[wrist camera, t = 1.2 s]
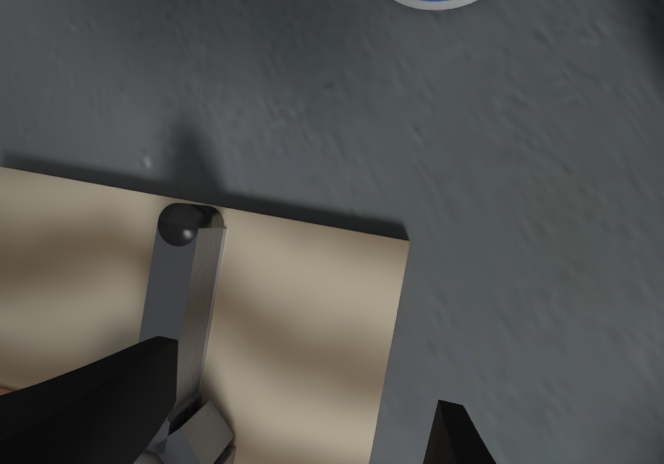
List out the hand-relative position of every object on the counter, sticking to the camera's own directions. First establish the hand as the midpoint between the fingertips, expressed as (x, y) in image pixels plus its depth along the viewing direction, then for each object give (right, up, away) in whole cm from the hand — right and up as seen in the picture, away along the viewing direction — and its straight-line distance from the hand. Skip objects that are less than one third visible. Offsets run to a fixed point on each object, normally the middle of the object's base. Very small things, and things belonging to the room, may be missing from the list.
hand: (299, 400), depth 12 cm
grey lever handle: (-7, -2, +12) cm, 14 cm away
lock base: (-9, -6, +14) cm, 18 cm away
